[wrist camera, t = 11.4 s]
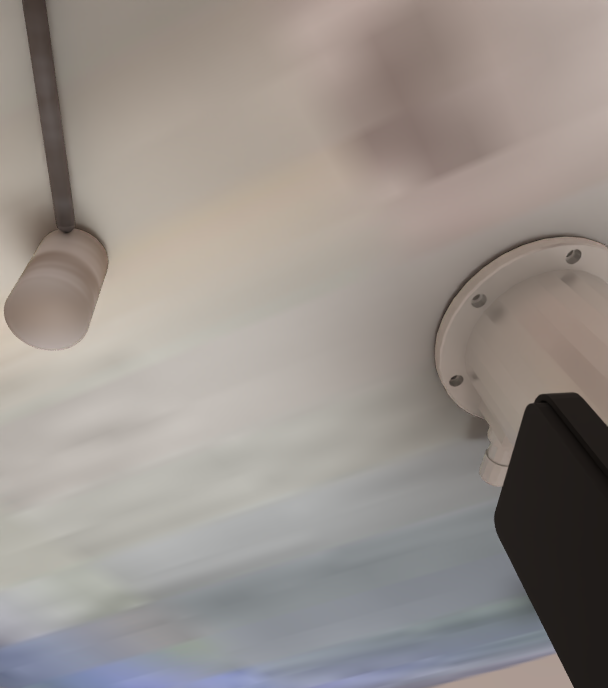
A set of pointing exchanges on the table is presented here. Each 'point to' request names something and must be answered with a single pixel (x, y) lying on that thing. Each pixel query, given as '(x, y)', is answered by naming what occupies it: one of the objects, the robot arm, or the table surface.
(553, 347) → the robot arm
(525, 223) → the table surface
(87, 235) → the rod with block end
